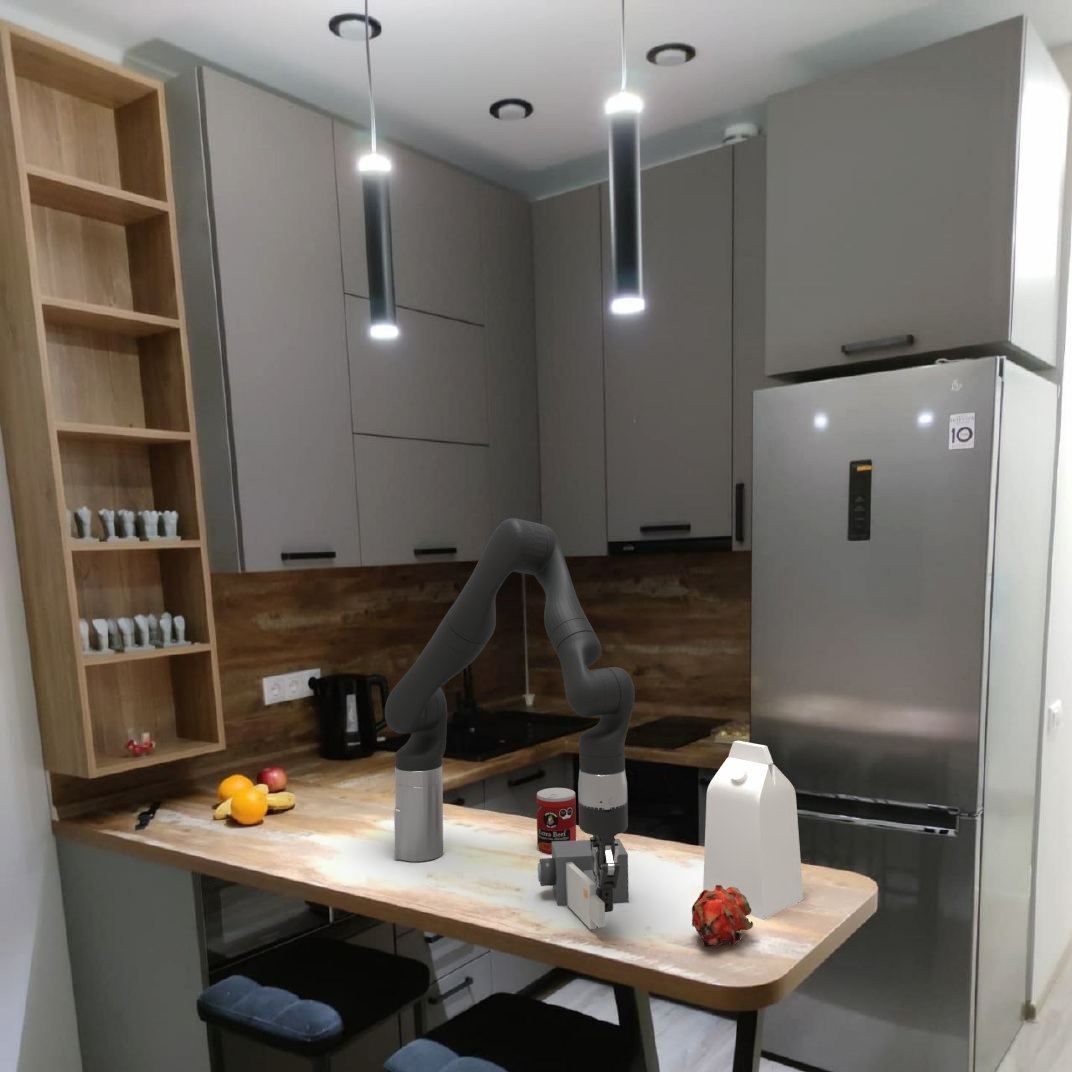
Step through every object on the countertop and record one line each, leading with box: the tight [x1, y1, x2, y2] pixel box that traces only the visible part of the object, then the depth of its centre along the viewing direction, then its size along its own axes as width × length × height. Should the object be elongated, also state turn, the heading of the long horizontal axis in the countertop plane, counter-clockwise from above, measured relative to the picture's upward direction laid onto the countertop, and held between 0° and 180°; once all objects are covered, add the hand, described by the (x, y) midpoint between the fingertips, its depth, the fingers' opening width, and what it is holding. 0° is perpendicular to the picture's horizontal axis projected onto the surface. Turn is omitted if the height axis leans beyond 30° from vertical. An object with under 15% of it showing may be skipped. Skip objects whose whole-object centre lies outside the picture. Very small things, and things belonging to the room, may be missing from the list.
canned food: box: [536, 787, 577, 855], centre depth 173 cm, size 8×8×11 cm
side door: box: [565, 862, 606, 930], centre depth 138 cm, size 14×1×7 cm, turn 19°
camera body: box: [537, 838, 630, 907], centre depth 149 cm, size 15×8×9 cm, turn 95°
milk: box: [702, 740, 804, 920], centre depth 147 cm, size 12×12×26 cm
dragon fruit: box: [691, 885, 754, 948], centre depth 131 cm, size 8×8×12 cm
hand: (605, 910), depth 135 cm, fingers closed
